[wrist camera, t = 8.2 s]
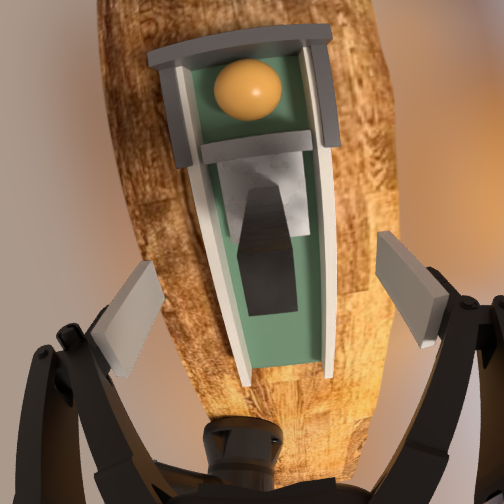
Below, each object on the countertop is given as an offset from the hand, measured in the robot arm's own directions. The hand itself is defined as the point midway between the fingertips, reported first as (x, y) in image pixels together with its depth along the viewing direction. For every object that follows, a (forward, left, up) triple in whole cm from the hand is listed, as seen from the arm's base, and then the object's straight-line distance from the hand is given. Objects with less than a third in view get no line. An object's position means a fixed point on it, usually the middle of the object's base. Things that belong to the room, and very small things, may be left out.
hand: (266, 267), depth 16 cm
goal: (+9, +3, -12) cm, 15 cm away
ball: (+10, +4, -8) cm, 13 cm away
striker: (+2, +1, -10) cm, 11 cm away
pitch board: (-2, -1, -12) cm, 12 cm away
